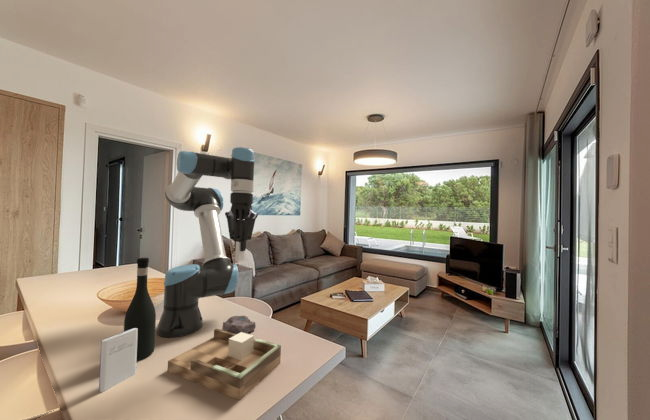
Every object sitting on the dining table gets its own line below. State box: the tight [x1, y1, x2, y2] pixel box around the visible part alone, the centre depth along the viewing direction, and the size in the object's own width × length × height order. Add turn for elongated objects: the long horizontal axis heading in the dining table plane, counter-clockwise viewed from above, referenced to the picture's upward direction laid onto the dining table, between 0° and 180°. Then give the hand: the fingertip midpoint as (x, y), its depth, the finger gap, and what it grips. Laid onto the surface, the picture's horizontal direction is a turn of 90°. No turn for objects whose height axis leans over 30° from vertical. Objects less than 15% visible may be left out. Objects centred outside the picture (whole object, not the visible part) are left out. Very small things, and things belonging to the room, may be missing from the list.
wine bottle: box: [123, 257, 157, 361], centre depth 81 cm, size 8×8×30 cm
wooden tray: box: [167, 328, 282, 401], centre depth 75 cm, size 26×17×6 cm, turn 66°
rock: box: [221, 315, 256, 334], centre depth 98 cm, size 8×11×5 cm
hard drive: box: [98, 328, 138, 393], centre depth 68 cm, size 2×8×12 cm, turn 159°
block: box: [228, 332, 255, 360], centre depth 77 cm, size 5×5×5 cm
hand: (239, 260), depth 91 cm, fingers closed
